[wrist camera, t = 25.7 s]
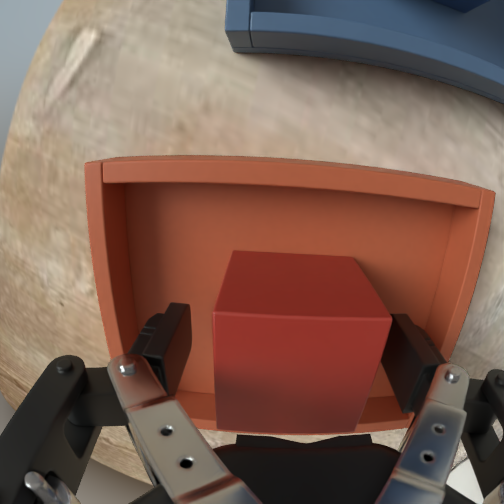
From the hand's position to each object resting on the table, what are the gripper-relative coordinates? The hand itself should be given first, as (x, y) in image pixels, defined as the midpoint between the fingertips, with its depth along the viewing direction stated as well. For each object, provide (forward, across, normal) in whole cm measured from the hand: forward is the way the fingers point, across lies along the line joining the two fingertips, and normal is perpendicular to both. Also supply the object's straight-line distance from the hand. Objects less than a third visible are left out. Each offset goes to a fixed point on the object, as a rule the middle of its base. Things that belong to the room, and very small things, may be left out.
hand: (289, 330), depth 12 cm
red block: (+2, 0, 0) cm, 2 cm away
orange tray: (+2, 0, 0) cm, 2 cm away
